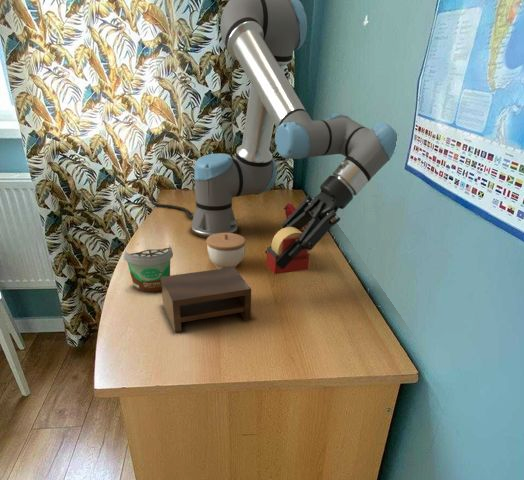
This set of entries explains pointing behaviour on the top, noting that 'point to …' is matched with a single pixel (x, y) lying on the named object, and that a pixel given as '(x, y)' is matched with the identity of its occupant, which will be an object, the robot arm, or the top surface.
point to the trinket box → (225, 249)
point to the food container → (149, 268)
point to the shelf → (205, 295)
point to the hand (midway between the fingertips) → (273, 260)
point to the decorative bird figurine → (289, 210)
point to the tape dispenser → (280, 245)
